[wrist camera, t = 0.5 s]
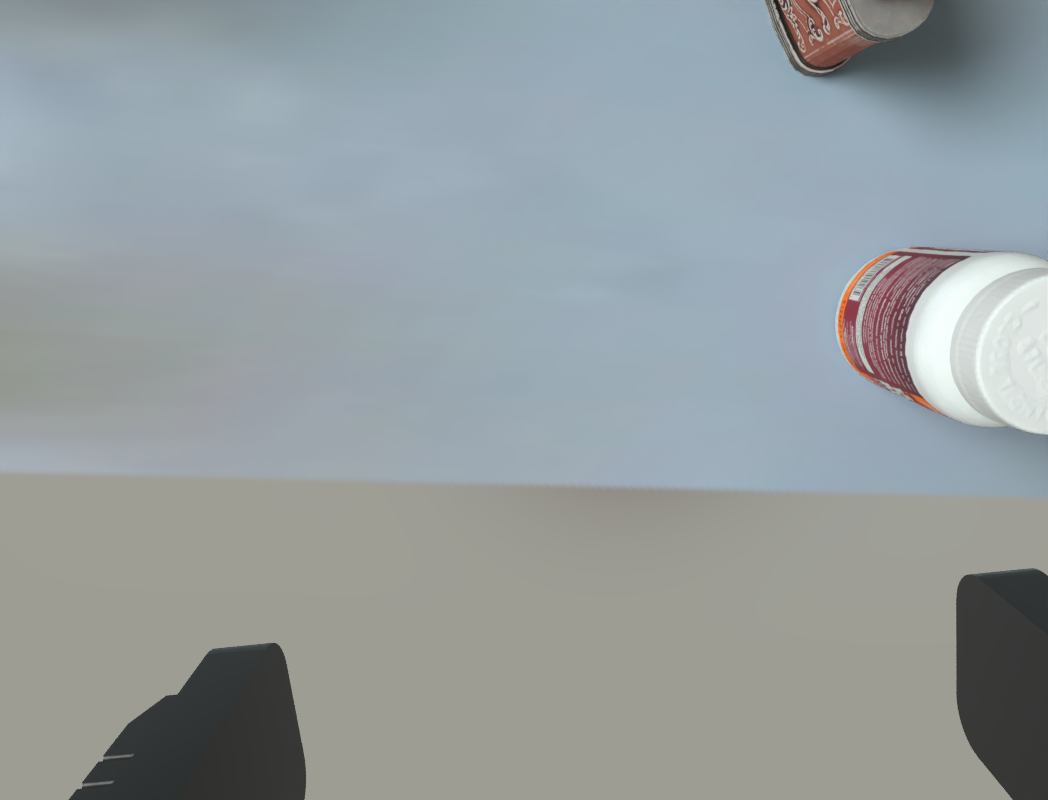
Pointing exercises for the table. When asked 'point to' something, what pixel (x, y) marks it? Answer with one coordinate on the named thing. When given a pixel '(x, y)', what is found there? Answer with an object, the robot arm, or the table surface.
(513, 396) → the table surface
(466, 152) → the table surface
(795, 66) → the lighter
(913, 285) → the pill bottle
